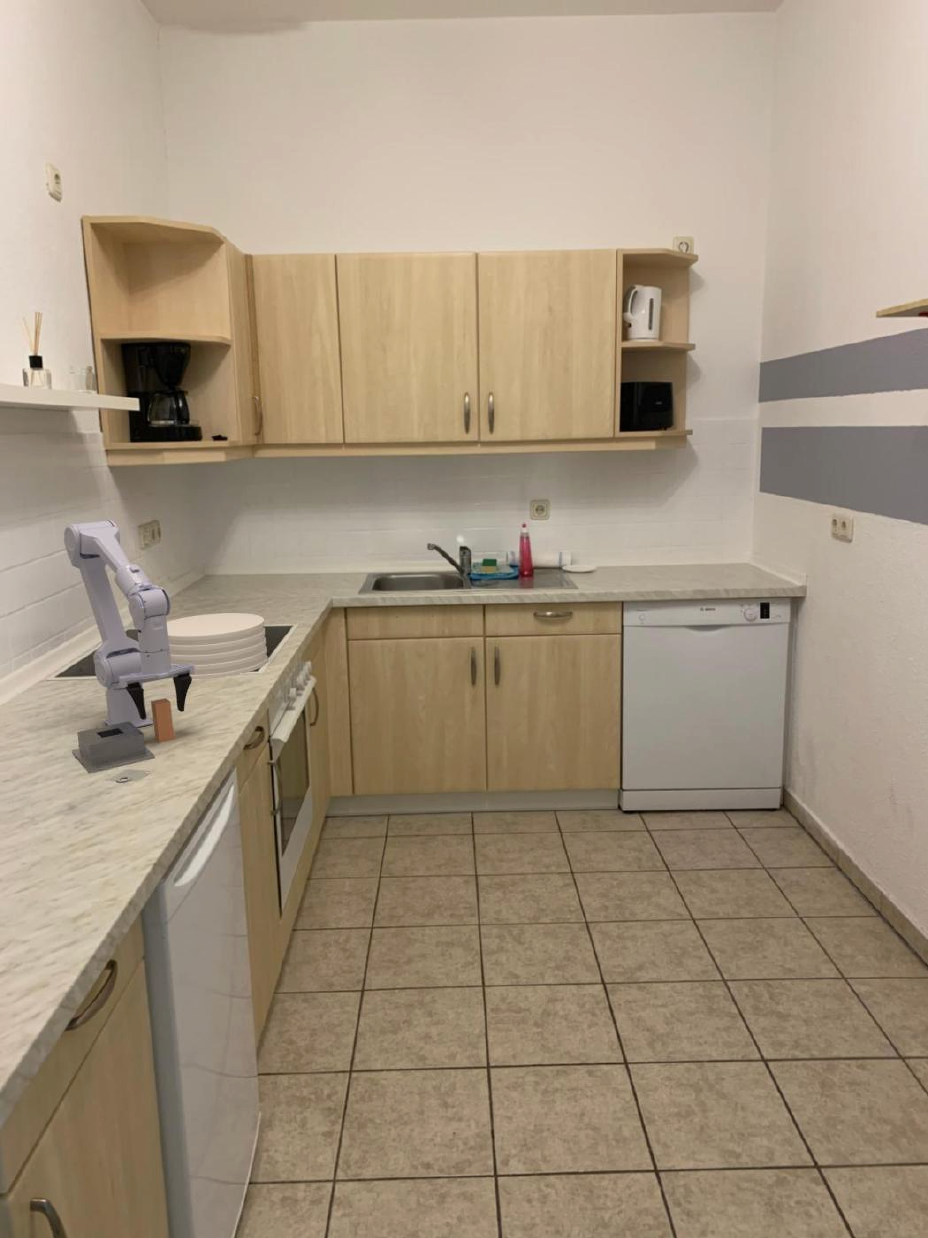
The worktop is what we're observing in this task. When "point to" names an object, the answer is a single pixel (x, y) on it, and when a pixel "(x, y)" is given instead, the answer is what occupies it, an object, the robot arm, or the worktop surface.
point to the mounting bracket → (129, 775)
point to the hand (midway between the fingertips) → (162, 714)
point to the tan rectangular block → (162, 720)
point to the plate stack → (218, 643)
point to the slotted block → (111, 747)
